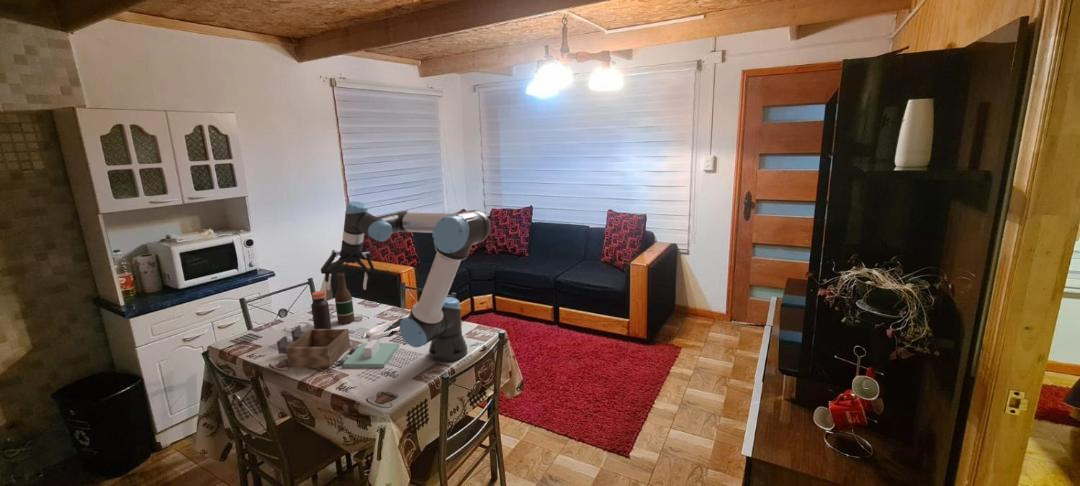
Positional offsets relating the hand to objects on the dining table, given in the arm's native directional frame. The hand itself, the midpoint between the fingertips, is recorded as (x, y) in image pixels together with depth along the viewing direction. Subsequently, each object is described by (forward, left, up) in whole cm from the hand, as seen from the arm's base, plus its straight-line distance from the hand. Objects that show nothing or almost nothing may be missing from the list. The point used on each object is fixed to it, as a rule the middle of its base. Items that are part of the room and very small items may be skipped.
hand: (346, 288), depth 189 cm
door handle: (-9, -19, -27) cm, 34 cm away
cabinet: (+12, +7, -26) cm, 30 cm away
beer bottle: (+16, -29, -26) cm, 43 cm away
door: (-9, +7, -26) cm, 29 cm away
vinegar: (+19, -13, -26) cm, 35 cm away
